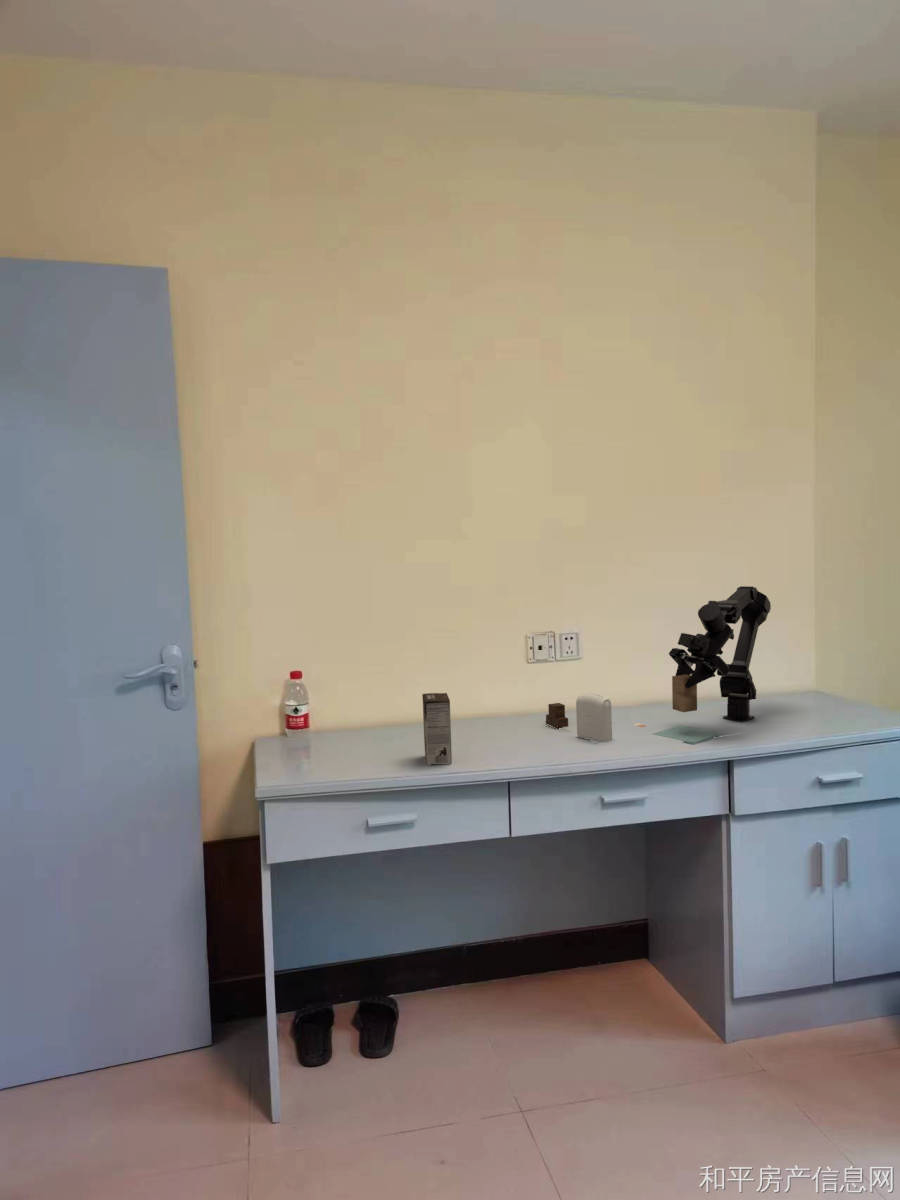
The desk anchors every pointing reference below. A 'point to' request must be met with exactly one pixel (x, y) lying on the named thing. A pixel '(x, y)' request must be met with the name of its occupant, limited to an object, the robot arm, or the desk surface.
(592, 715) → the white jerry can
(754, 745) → the desk surface
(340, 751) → the desk surface
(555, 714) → the stack of crates
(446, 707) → the coffee box
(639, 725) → the tile
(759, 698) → the desk surface
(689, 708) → the walnut block
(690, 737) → the teal pad
